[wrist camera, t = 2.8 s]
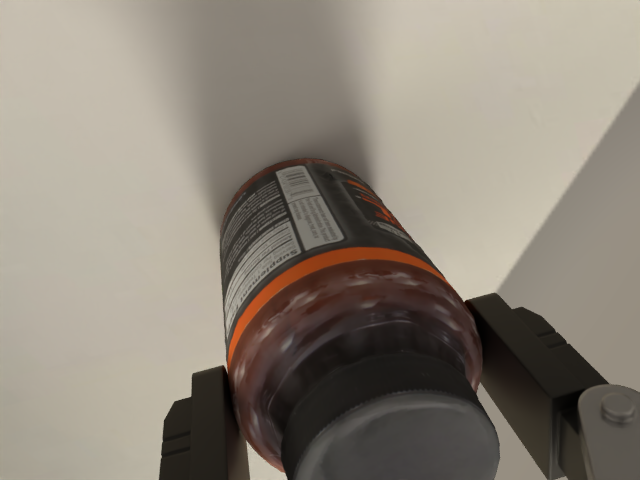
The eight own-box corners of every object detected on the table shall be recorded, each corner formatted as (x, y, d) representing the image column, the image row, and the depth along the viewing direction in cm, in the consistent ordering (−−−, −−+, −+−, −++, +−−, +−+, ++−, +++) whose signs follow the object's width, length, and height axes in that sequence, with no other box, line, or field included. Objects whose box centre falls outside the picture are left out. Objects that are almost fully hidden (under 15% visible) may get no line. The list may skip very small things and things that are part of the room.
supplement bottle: (408, 235, 21) (602, 473, 11) (288, 328, 22) (365, 631, 12) (315, 115, 18) (457, 285, 8) (181, 225, 19) (161, 505, 9)
